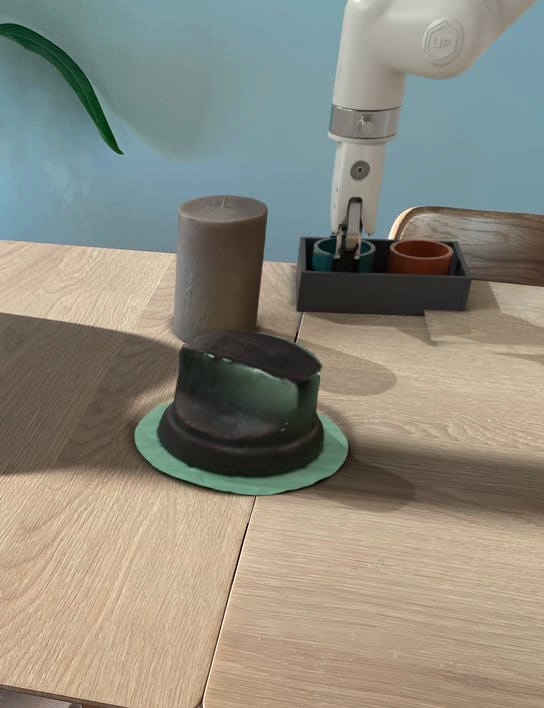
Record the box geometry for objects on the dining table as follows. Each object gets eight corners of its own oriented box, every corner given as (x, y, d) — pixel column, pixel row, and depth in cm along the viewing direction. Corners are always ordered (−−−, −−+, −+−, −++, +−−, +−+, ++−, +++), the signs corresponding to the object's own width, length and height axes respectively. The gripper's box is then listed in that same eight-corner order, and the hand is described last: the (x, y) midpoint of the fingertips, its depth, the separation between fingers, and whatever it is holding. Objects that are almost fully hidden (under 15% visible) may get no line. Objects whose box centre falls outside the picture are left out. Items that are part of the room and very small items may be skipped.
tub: (449, 278, 124) (457, 241, 121) (463, 317, 114) (472, 278, 111) (295, 272, 127) (300, 236, 124) (296, 311, 117) (301, 272, 114)
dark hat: (382, 408, 95) (327, 514, 82) (217, 456, 107) (146, 555, 93) (327, 263, 89) (258, 352, 76) (159, 330, 101) (74, 417, 87)
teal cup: (366, 278, 123) (373, 237, 120) (369, 299, 118) (377, 257, 114) (308, 276, 124) (313, 236, 121) (308, 297, 119) (314, 255, 116)
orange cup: (440, 281, 122) (449, 240, 119) (447, 302, 116) (456, 260, 113) (380, 279, 123) (388, 238, 120) (384, 300, 117) (392, 257, 114)
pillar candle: (273, 329, 113) (288, 191, 103) (222, 355, 108) (234, 213, 98) (205, 309, 118) (214, 176, 109) (154, 333, 113) (159, 196, 103)
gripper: (405, 141, 102) (375, 308, 113) (392, 105, 115) (366, 257, 126) (331, 140, 103) (309, 305, 114) (327, 104, 116) (307, 255, 127)
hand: (339, 279), depth 120 cm, fingers open, 7 cm apart
